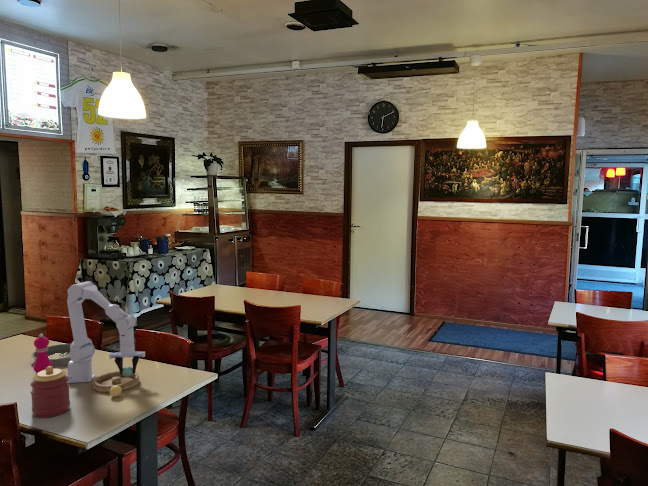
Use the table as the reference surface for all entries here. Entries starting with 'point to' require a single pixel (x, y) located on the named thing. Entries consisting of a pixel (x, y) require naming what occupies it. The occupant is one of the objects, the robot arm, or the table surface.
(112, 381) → the groove tray
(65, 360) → the cake pan
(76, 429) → the table surface
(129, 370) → the bead teal
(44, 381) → the canister
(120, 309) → the robot arm
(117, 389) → the bead ochre
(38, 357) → the pepper mill
